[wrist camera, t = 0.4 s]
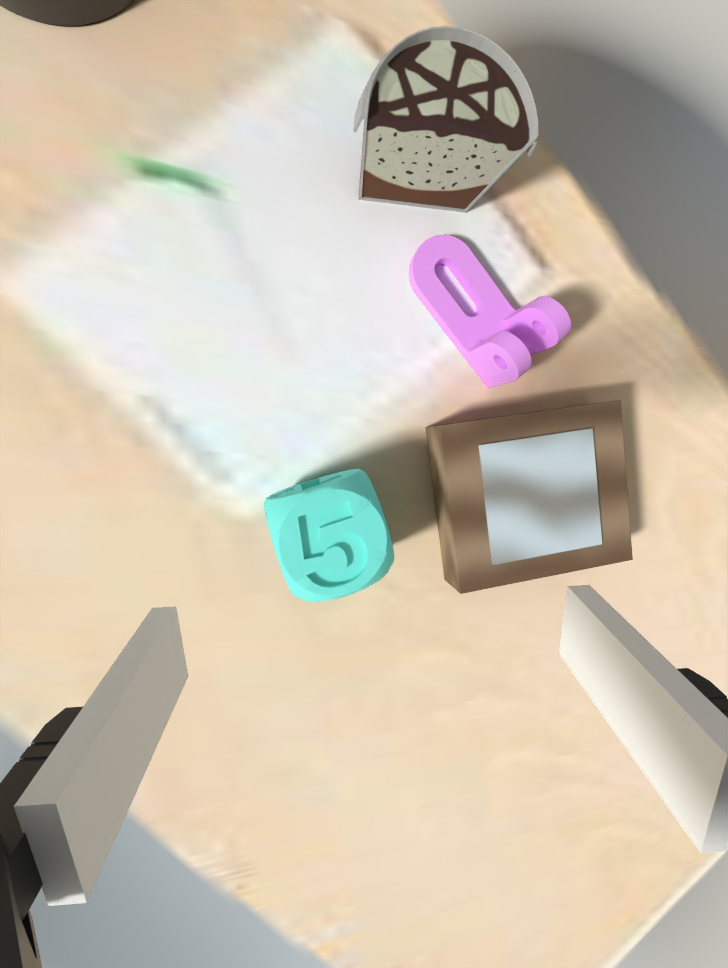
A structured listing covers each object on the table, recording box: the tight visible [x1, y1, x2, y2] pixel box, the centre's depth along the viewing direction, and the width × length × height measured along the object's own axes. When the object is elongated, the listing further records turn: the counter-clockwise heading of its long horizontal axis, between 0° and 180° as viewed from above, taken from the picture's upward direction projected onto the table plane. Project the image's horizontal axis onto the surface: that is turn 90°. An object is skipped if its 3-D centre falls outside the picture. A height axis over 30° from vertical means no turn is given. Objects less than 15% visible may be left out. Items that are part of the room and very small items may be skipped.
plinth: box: [426, 400, 633, 594], centre depth 40 cm, size 14×16×4 cm
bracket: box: [409, 235, 571, 388], centre depth 36 cm, size 13×6×7 cm, turn 41°
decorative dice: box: [264, 469, 394, 602], centre depth 35 cm, size 8×8×8 cm
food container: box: [354, 26, 539, 213], centre depth 33 cm, size 12×6×10 cm, turn 88°
